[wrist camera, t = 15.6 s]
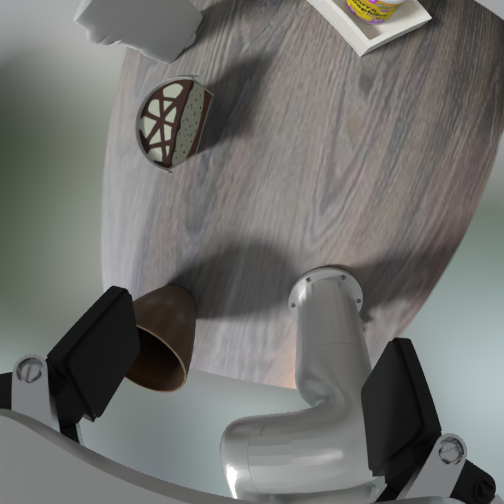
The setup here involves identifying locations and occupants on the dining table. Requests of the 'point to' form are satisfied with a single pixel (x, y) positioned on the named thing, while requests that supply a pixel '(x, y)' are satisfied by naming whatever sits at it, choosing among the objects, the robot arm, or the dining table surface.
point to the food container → (172, 121)
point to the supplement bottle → (373, 10)
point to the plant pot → (163, 339)
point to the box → (372, 36)
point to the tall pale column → (141, 25)
